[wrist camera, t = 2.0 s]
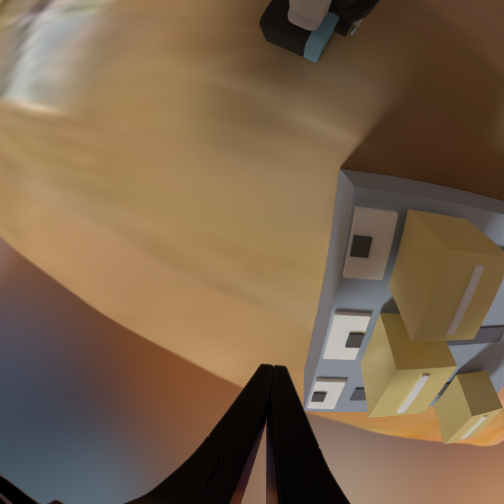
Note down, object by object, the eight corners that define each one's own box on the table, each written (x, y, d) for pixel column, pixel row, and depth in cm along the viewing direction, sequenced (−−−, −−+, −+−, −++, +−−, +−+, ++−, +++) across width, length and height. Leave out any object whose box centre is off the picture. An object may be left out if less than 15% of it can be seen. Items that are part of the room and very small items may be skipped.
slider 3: (486, 370, 11) (503, 409, 8) (463, 400, 12) (475, 437, 9) (456, 374, 11) (472, 417, 8) (433, 405, 12) (444, 445, 10)
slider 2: (432, 314, 9) (457, 367, 7) (408, 362, 11) (423, 414, 8) (379, 312, 10) (397, 372, 7) (360, 363, 11) (368, 418, 8)
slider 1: (465, 218, 8) (512, 259, 5) (443, 288, 9) (474, 341, 6) (408, 208, 8) (449, 251, 5) (388, 285, 9) (412, 343, 7)
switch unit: (550, 216, 9) (584, 240, 6) (483, 364, 15) (498, 397, 12) (339, 168, 11) (356, 189, 8) (304, 369, 16) (303, 415, 13)
